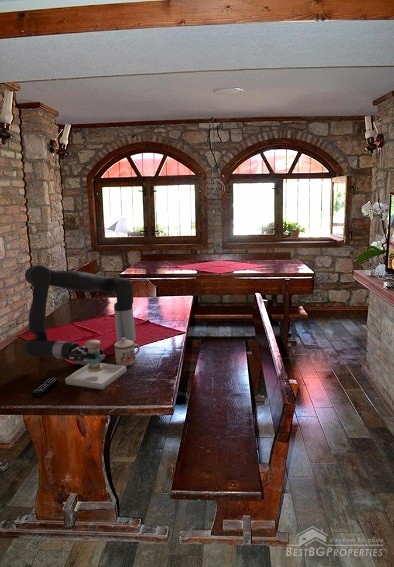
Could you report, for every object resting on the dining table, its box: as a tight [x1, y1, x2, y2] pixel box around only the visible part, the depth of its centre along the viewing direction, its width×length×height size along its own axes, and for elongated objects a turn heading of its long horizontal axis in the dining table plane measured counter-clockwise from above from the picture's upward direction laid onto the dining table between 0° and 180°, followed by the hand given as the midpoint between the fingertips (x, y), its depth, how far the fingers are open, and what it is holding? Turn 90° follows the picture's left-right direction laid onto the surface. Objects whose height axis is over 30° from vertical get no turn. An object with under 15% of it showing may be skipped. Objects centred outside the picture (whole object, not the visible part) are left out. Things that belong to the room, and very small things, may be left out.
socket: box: [75, 353, 106, 366], centre depth 209 cm, size 10×10×2 cm
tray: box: [64, 362, 127, 390], centre depth 190 cm, size 18×18×2 cm
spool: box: [84, 339, 103, 373], centre depth 188 cm, size 6×6×12 cm
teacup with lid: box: [113, 338, 141, 367], centre depth 205 cm, size 12×9×12 cm
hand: (99, 354), depth 187 cm, fingers closed on spool, 4 cm apart
